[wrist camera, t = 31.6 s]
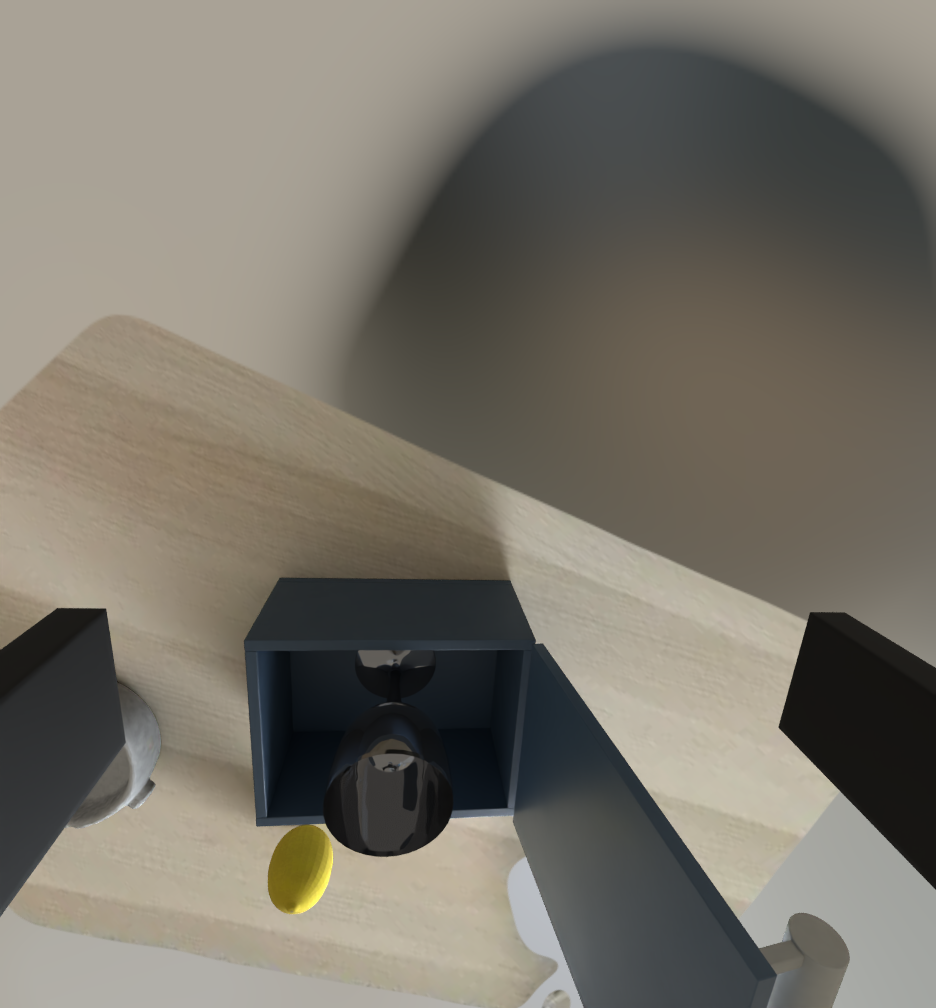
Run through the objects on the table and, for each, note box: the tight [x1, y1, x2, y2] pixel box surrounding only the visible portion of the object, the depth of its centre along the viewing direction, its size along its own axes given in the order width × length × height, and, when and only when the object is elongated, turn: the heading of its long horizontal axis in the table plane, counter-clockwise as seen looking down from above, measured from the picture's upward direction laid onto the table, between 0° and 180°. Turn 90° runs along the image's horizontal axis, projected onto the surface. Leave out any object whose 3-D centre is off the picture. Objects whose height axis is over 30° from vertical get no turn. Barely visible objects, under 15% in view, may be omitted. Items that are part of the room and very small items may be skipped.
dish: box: [65, 683, 161, 828], centre depth 43 cm, size 14×14×5 cm
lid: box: [513, 644, 850, 1008], centre depth 29 cm, size 20×16×8 cm
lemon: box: [268, 825, 333, 914], centre depth 47 cm, size 6×6×8 cm
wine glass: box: [323, 650, 453, 857], centre depth 39 cm, size 8×8×15 cm
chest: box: [244, 578, 536, 826], centre depth 42 cm, size 20×16×10 cm
